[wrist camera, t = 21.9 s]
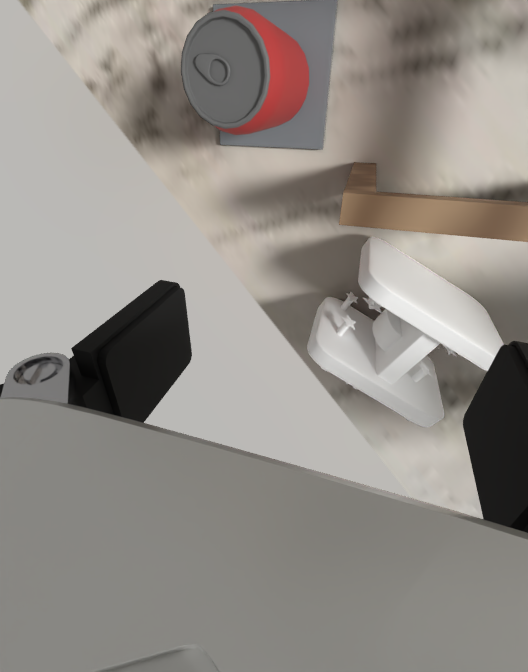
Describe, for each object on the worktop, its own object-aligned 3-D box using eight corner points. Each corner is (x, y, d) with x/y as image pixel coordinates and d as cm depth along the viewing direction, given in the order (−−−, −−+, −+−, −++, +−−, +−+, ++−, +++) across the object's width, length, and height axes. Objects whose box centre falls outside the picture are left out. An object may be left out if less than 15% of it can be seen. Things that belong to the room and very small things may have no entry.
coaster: (337, 0, 26) (337, -1, 26) (323, 148, 32) (322, 149, 32) (215, 6, 28) (212, 4, 28) (222, 144, 34) (220, 144, 34)
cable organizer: (490, 304, 36) (530, 375, 27) (418, 365, 42) (429, 440, 33) (371, 227, 35) (369, 274, 26) (315, 302, 41) (298, 361, 32)
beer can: (251, 16, 28) (185, -27, 18) (324, 52, 28) (296, 28, 18) (227, 107, 32) (163, 111, 22) (291, 138, 32) (255, 156, 22)
